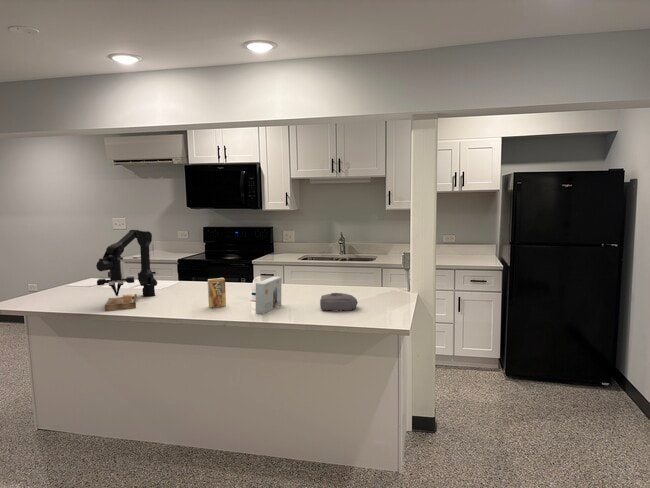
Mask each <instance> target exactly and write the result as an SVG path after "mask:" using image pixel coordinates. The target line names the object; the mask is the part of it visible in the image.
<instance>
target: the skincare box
mask: <svg viewBox="0 0 650 488" xmlns="http://www.w3.org/2000/svg"><path fill="white" fill-rule="evenodd" d="M282 280H283V279H282V276H275V275H274V276H271V277H269V278H266V279H263V280H260V281H258V282H255V314H262V315H264V314H266V313H268V312H270V311H272V310H274V309H276V308H277V306H278V307H280V306H281V305H282ZM279 305H280V306H279Z"/></svg>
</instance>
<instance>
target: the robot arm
mask: <svg viewBox="0 0 650 488" xmlns="http://www.w3.org/2000/svg"><path fill="white" fill-rule="evenodd" d="M135 239H136V240H137V244H138V245H139V246H140V269H141V270H140V271H139V272H137V280H138V283H139V285H140V286H141V287H142V296H143V297H144V298H145V297H155V296H156V291H155V287H156V286H158V281H157V280H156V278H155V277H154V273H153V272H152V270H151V258H150V245H151V243H152V241H153V235H152V233H151V231H148V230H147V231H146V230H143V231H142V230H140V229H139V230H138V229H130V230H129V231H128V232H127V233H126V234H125V235H124V236H123V237H121V238H120V239H119V240H118V241H117V242H114V243H112V244H111V245H108V246H106V249H105V253H104V254H103V256H102V258H99V259H98V261H97V262H96V266H95V267H96V269H97V270H98V271H99V272H105V271H108V272H107V278H109V279H106V278H104V277H103V278H98V279H97V281H96V286H104V285H105V284H108V287H110V288H111V289H112V290H113V292H114V295H115V296H116V297H118V296H119V293H120V289H121V287H122V286H124V284H125V282H126V283H128V284H134V283H135V276H126V278H123V276H122V275H123V274H122V265H121V260H124V257H122V254H123V253H124V251H125V248H126V247H127V246H128V245H129V244H130V243H132V241H134V240H135ZM116 283H117V284H116ZM116 285H117V286H116Z"/></svg>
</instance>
